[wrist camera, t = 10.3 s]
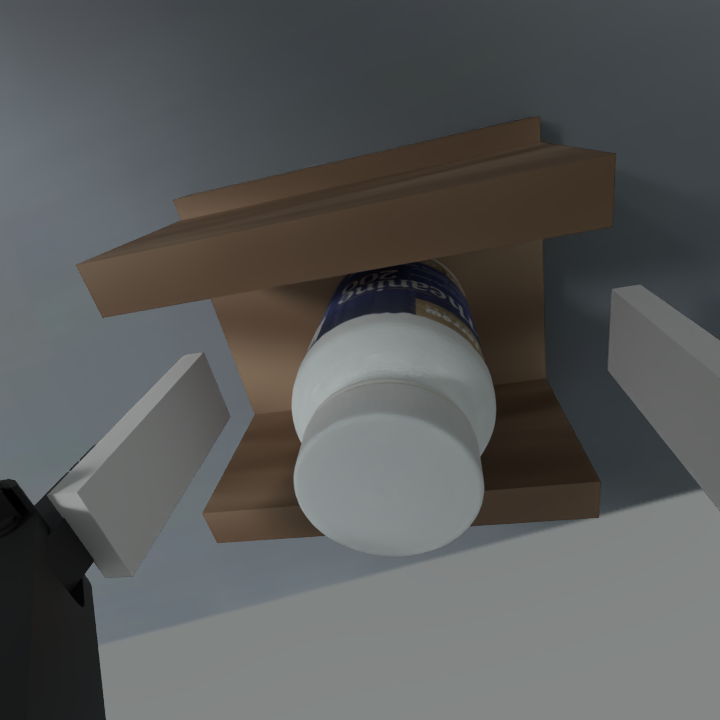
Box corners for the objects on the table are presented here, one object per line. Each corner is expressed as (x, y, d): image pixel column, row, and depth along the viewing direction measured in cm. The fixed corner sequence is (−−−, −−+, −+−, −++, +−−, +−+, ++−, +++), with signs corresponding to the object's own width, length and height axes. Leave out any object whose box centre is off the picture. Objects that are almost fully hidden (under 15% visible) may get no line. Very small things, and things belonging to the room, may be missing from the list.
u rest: (185, 196, 17) (61, 236, 11) (532, 116, 15) (617, 112, 9) (274, 439, 23) (224, 556, 16) (541, 409, 20) (598, 534, 14)
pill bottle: (483, 258, 16) (564, 411, 8) (448, 381, 19) (479, 596, 10) (339, 234, 16) (263, 358, 8) (324, 359, 19) (254, 554, 10)
